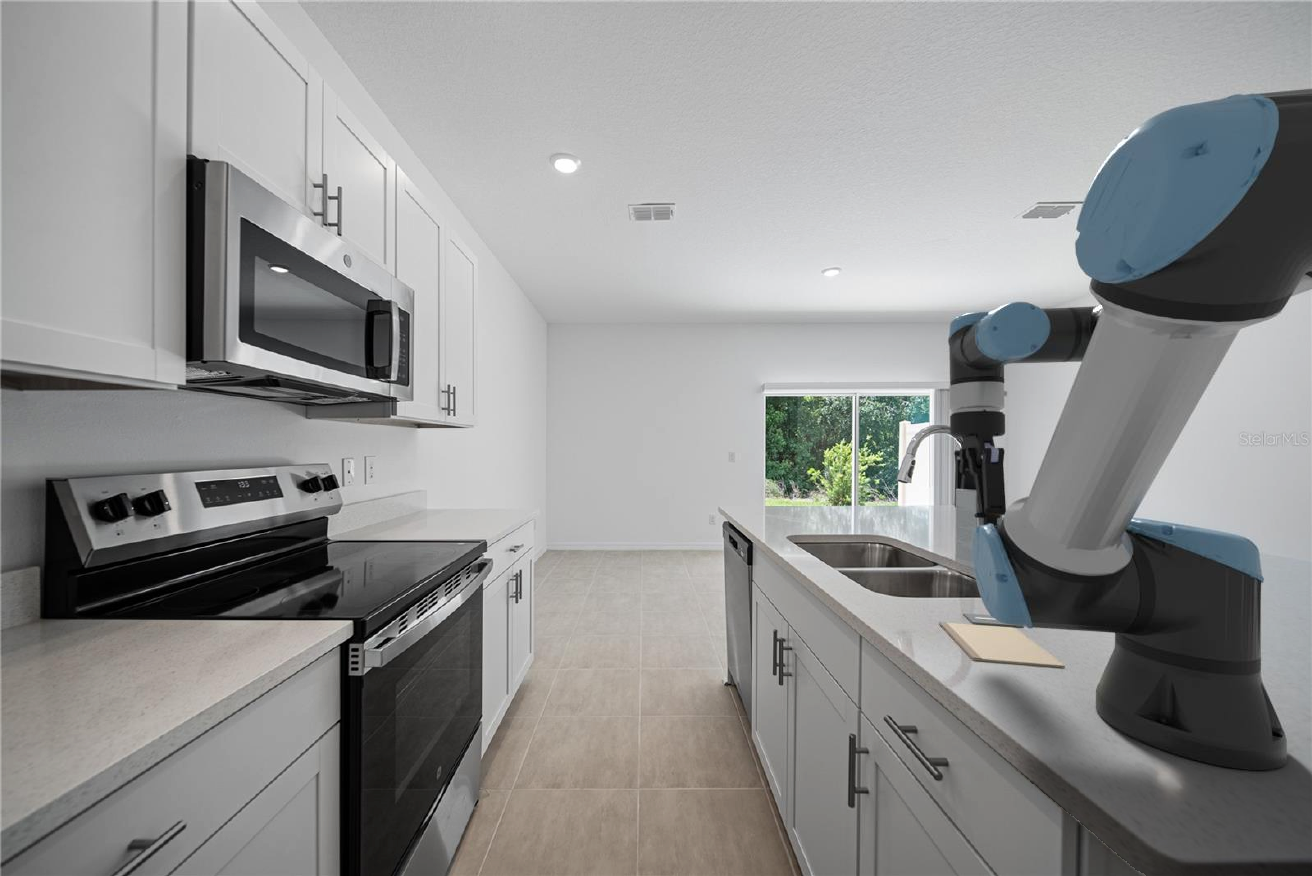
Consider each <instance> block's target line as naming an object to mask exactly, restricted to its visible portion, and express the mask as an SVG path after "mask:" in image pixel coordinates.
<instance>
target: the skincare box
mask: <svg viewBox="0 0 1312 876" xmlns="http://www.w3.org/2000/svg"><path fill="white" fill-rule="evenodd" d="M976 513H979V506H978V498H977V491H976V490H969V489H956V508H955V558H954V559H955V563H958V564H961V565H963V566H967V567H970V568H973V569H974V567H973V558H972V540H973V534H974V532H975V530H976V528H977V518H976V517H975V515H974V514H976ZM1002 520H1003V515H1001V516H1000V518H998V522H999V525H1001V523H1002Z"/></svg>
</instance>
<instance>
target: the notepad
mask: <svg viewBox="0 0 1312 876" xmlns="http://www.w3.org/2000/svg"><path fill="white" fill-rule="evenodd" d="M938 624H939V626H940V625H941V626H942V627H941V626H940V627H941V628H942V629H943V630H944V629H945V630H944V631H945V632H946V633H947V634H948V635H949V636H950V638H952V640H953V639H954V642H955V643H956V644H957V645H958V646H959V647H960V648H961V649H962V650H963V652H964V653H965V654H966V655H967V656H968V657H969V658H970V659H971V660H972V661H980V662H981V661H983V662H990V663H1005V664H1015V665H1016V664H1017V665H1028V666H1038V667H1039V666H1040V667H1041V666H1043V667H1051V668H1066V665H1065V664H1064V663H1062V662H1060V661H1059V660H1058V659H1057V658H1055V657H1054V656H1053V655H1051V654H1050V653H1048V652H1047V651H1046V650H1045V649H1043V648H1042V647H1041V646H1039V645H1038V644H1037V643H1035V642H1034V641H1033V640H1032V639H1030V638H1029V637H1028V636H1026V635H1025V634H1024V633H1022V632H1021V631H1020V630H1019V629H1017V627H1010V626H996V625H982V624H967V623H955V622H946V621H939V622H938Z"/></svg>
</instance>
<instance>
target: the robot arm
mask: <svg viewBox="0 0 1312 876" xmlns="http://www.w3.org/2000/svg"><path fill="white" fill-rule="evenodd" d="M1086 192H1087V193H1086V194H1085V197H1084V200H1083V203H1082V205H1081V209H1080V212H1079V215H1078V218H1077V223H1076V224H1077V225H1076V228H1075V229H1076V231H1077V232H1078V233H1079V235H1078V237H1077V238H1076V240H1075V243H1074V245H1075V246H1074V248H1075V256H1076V260H1077V263H1078V266H1079V268H1080V269H1081V270H1082V271H1083V273H1084V274H1085V275H1086V276H1088V277H1089V278H1091V279H1090V282H1089V285H1088V291H1090V293H1091V295H1092V296H1093V297H1094V299H1095V300H1096V301H1097V302H1098V303H1099V305H1096V306H1095V305H1094V306H1077V307H1075V306H1073V307H1070V306H1069V307H1051V308H1048V307H1047V308H1045V307H1044V308H1042V307H1039V306H1037V305H1035V304H1032V303H1030V302H1028V301H1014V302H1010V303H1006V304H1004V305H1002V306H999V307H998V308H996V309H995V308H994V309H992V311H976V312H975V311H974V312H969V313H965V314H963V315H959V316H956V317H955V318H953V319H952V320H951V322H950V323H949V336H948V340H947V343H948V347H949V351H948V352H949V354H948V355H949V387H948V388H949V410H951V411H952V412H953V413H951V415H950V416H949V423H950V424H949V425H950V427H949V429H950V430H949V432H950V435H951V436H952V437H954V438H955V437H956V438H962V440H961V441H962V442H961V448H960V449H959V450H958V449H955V450H954V453H953V455H954V463H955V467H954V468H955V469H954V474H955V475H954V504H953V505H954V508H955V509H956V489H969V490H976V491H977V498H978V506H979V513H976V514H974V515H975V517H976V518H977V528H976V530H975V532H974V534H973V540H972V558H973V567H974V568H973V572H974V578H975V581H976V586H977V589H978V592H979V593H978V594H979V596H980V598H981V600H982V604H983V606H984V608H985V609H986V610H987V612H988V615H991V616H992V617H993V618H995V619H996V620H997V621H999V622H1001V623H1004V624H1010V625H1018V626H1023V627H1025V628H1027V629H1033V628H1035V629H1038V628H1040V629H1053V630H1064V631H1065V630H1066V631H1068V630H1069V631H1082V632H1083V631H1084V632H1095V633H1096V632H1100V633H1114V648H1113V651H1112V653H1111V655H1110V658H1109V660H1108V662H1107V664H1106V666H1105V668H1104V670H1103V673H1102V674H1101V675H1102V676H1101V677H1100V678H1099V679H1100V680H1099V682H1098V684H1097V686H1096V689H1095V710H1096V712H1097V713H1098V715H1099V717H1101V718H1102V719H1103V720H1104V721H1105V722H1106V723H1108V724H1109V725H1110V726H1112V727H1114V728H1115V729H1117V730H1119V731H1120V732H1122V733H1124V734H1125V735H1127V736H1130V737H1131V738H1133V739H1136V740H1138V741H1140V742H1142V743H1145V744H1147V745H1149V746H1152V747H1155V748H1157V749H1160V750H1163V751H1165V752H1168V753H1171V754H1174V755H1177V756H1181V757H1184V758H1187V759H1191V760H1195V761H1199V762H1203V763H1206V764H1211V765H1216V766H1221V767H1228V768H1233V769H1240V770H1251V771H1253V770H1254V771H1262V770H1263V771H1265V770H1266V771H1267V770H1274V769H1278V768H1281V767H1283V766H1285V765H1286V763H1287V761H1288V741H1287V740H1288V739H1287V735H1286V733H1285V731H1284V729H1283V727H1282V724H1281V721H1280V719H1279V717H1278V714H1277V712H1276V710H1275V708H1274V705H1273V703H1272V700H1271V699H1270V696H1269V694H1268V692H1267V691H1268V690H1267V688H1266V687H1265V685H1264V682H1263V679H1262V678H1263V677H1262V596H1261V595H1262V584H1263V583H1264V582H1265V578H1264V577H1263V572H1262V565H1261V558H1260V556H1261V555H1260V551H1259V550H1260V549H1259V548H1258V546H1257V545H1256V544H1255V543H1254V542H1253V541H1251V539H1249V538H1247V537H1245V536H1244V535H1243V536H1242V535H1239V534H1235V533H1230V532H1225V531H1221V530H1216V529H1210V528H1209V529H1208V528H1203V527H1198V526H1192V525H1186V524H1179V523H1173V522H1167V521H1162V520H1161V521H1160V520H1155V519H1147V518H1140V517H1134V516H1135V514H1136V512H1137V511H1138V509H1139V507H1140V505H1141V504H1142V502H1143V500H1144V498H1145V496H1146V495H1147V493H1148V491H1149V490H1150V488H1151V486H1152V484H1153V483H1154V481H1155V479H1156V478H1157V475H1158V474H1159V472H1160V470H1161V468H1162V466H1164V463H1165V462H1166V460H1167V458H1168V457H1169V455H1170V453H1171V451H1172V449H1173V448H1174V446H1175V444H1176V442H1177V441H1178V439H1179V437H1180V435H1181V433H1182V432H1183V430H1184V429H1185V426H1186V425H1187V423H1188V422H1189V419H1190V418H1191V416H1192V414H1193V413H1194V411H1195V409H1196V407H1197V405H1198V404H1199V402H1200V401H1201V398H1202V397H1203V395H1204V393H1205V391H1206V390H1207V388H1208V387H1209V385H1210V383H1211V381H1212V379H1213V378H1214V375H1216V372H1217V371H1218V369H1219V367H1220V366H1221V363H1222V361H1223V360H1224V358H1225V357H1226V355H1227V353H1228V352H1229V350H1230V347H1231V346H1232V344H1233V343H1234V341H1235V339H1236V337H1237V335H1238V333H1239V332H1240V330H1242V329H1245V328H1247V327H1251V326H1253V325H1257V324H1260V323H1263V322H1265V321H1268V320H1270V319H1272V318H1275V317H1277V316H1278V315H1280V314H1281V313H1282V311H1283V310H1284V309H1285V307H1286V305H1287V303H1288V302H1289V300H1290V298H1291V297H1294V296H1296V295H1299V294H1302V293H1306V292H1308V291H1310V290H1311V291H1312V88H1305V89H1304V88H1303V89H1293V90H1284V91H1282V90H1281V91H1272V92H1261V93H1249V94H1240V93H1238V94H1233V95H1229V96H1227V97H1224V98H1223V97H1222V98H1219V99H1214V100H1208V101H1204V102H1203V101H1202V102H1197V103H1192V104H1191V103H1190V104H1185V105H1179V106H1176V107H1172V108H1169V109H1166V110H1165V111H1164V110H1163V111H1162V112H1159V113H1158V114H1155V115H1153V116H1152V117H1150V118H1148V119H1147V120H1145V121H1144V122H1142V123H1141V124H1140V125H1138V126H1137V127H1136V128H1135V129H1134V130H1133V132H1132V133H1130V135H1128V136H1126V137H1124V138H1123V139H1122V141H1121V142H1119V143H1118V144H1117V146H1116V147H1115V149H1114V150H1113V151H1112V152H1111V153H1110V154H1109V155H1108V157H1107V158H1106V159H1105V161H1104V162H1103V164H1102V165H1101V167H1100V168H1099V169H1098V172H1097V173H1096V175H1095V177H1094V179H1093V180H1092V183H1091V184H1090V187H1089V189H1088V191H1086ZM1071 362H1072V363H1078V362H1080V365H1079V368H1078V371H1077V373H1076V376H1075V378H1074V380H1073V383H1072V386H1071V388H1070V391H1069V393H1068V396H1067V398H1066V401H1065V403H1064V406H1063V409H1062V410H1061V414H1060V416H1059V419H1058V421H1057V424H1056V426H1055V429H1054V431H1053V434H1052V437H1051V438H1050V441H1049V444H1048V446H1047V449H1046V450H1045V451H1046V452H1045V454H1044V457H1043V459H1042V461H1041V464H1040V467H1039V469H1038V472H1037V474H1036V477H1035V480H1034V482H1033V484H1032V487H1031V489H1030V492H1029V493H1028V496H1025V497H1022V498H1019V499H1017V500H1016V501H1014V502H1012V503H1011V504H1010V505H1008V507H1007V506H1006V505H1007V503H1006V489H1005V471H1004V470H1005V468H1004V461H1005V449H1004V448H1003V447H996V445H995V442H994V438H995V437H997V438H998V437H1001V436H1004V435H1005V433H1006V414H1004V412H1003V411H1000V410H1004V408H1005V397H1007V395H1008V392H1007V390H1005V365H1006V366H1007V365H1009V364H1011V365H1012V364H1042V363H1043V364H1044V363H1046V364H1048V363H1051V364H1052V363H1071ZM1006 507H1007V508H1006ZM1001 515H1002V516H1003V517H1002V523H1001V525H999V522H998V518H1000V516H1001Z"/></svg>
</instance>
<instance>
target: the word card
mask: <svg viewBox="0 0 1312 876" xmlns="http://www.w3.org/2000/svg"><path fill="white" fill-rule="evenodd" d="M962 616H963V617H965V618H966V619H967V620H968V621H969V622H970V623H971V624H972V625H984V626H998V627H1012V628H1024V626H1018V625H1010V624H1004V623H1001V622H999V621H997V620H996V619H995V618H993V617H992V616H991V615H990V614H980V613H964V612H963V613H962Z"/></svg>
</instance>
